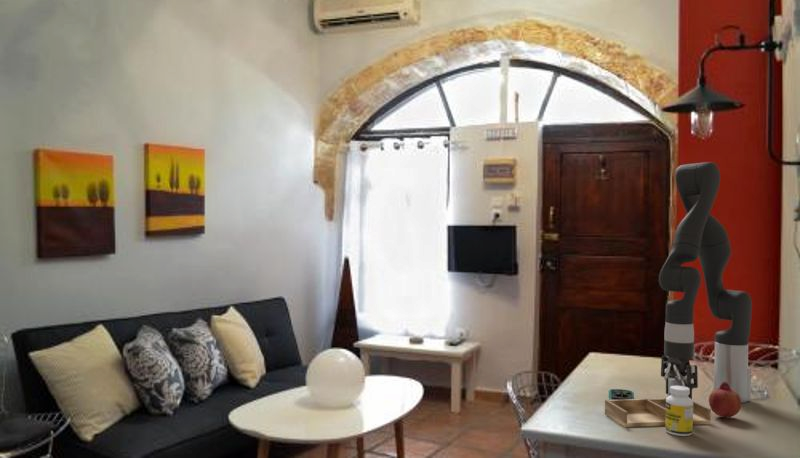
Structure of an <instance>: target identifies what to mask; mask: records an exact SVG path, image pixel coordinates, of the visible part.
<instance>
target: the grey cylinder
mask: <svg viewBox="0 0 800 458" xmlns="http://www.w3.org/2000/svg"><path fill="white" fill-rule="evenodd" d="M685 382H686V384H687V381H685ZM670 386H682V383H681V381H679V379H678V377H669V378H668V394H667V397H668V396H670V395H671V393H670Z"/></svg>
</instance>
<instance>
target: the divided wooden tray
mask: <svg viewBox="0 0 800 458" xmlns="http://www.w3.org/2000/svg"><path fill="white" fill-rule="evenodd" d="M666 398H667V397H665V398H664V397H663V398H660V397H659V398H634V399H624V400H609V399H605V400H604V415H605V416H607V417H608V418H610V419H611V420H613V421H614V422H615V423H617V424H619V425H621V426H622V427H623V428H633V427H662V426H665V420H666ZM692 401H693V425H711V419H712V418H711V415H712V414H711V412H712V409H711V408H709V407H708V406H705V405H703V404H702V403H701V404H700V403H699V402H697V401H695V400H692Z"/></svg>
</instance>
